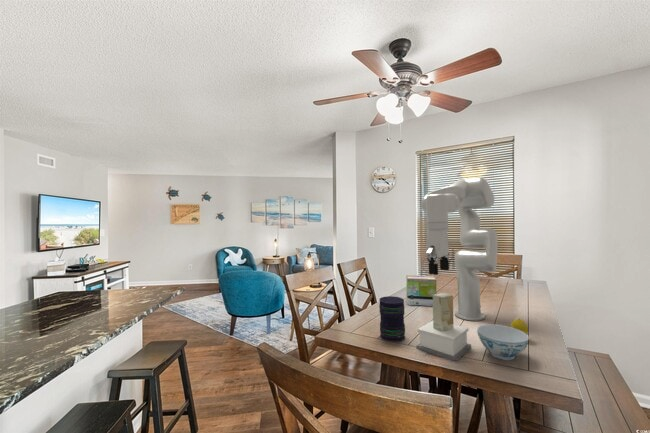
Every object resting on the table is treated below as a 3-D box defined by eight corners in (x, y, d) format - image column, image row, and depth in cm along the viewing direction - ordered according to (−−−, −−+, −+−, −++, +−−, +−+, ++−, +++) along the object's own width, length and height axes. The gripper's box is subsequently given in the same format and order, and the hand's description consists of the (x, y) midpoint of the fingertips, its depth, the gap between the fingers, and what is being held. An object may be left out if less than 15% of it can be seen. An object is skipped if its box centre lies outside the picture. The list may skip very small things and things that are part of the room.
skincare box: (442, 331, 102) (441, 297, 102) (432, 327, 106) (431, 294, 106) (454, 328, 105) (453, 294, 106) (444, 324, 109) (443, 292, 109)
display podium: (433, 336, 115) (433, 319, 115) (470, 347, 105) (470, 327, 105) (416, 348, 105) (415, 329, 106) (455, 361, 95) (454, 339, 96)
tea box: (407, 305, 156) (406, 278, 156) (406, 300, 166) (405, 274, 166) (437, 306, 153) (436, 278, 153) (434, 301, 163) (433, 275, 163)
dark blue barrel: (410, 336, 116) (409, 299, 116) (395, 344, 109) (394, 304, 109) (389, 330, 123) (388, 294, 123) (375, 336, 117) (374, 299, 117)
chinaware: (476, 359, 96) (475, 336, 96) (479, 342, 109) (478, 322, 109) (531, 371, 88) (530, 345, 88) (527, 351, 101) (526, 329, 101)
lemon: (528, 343, 107) (528, 322, 107) (510, 340, 110) (510, 319, 110) (527, 338, 111) (527, 317, 112) (510, 335, 114) (510, 315, 114)
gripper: (437, 225, 118) (439, 267, 118) (417, 228, 105) (419, 274, 105) (456, 225, 112) (458, 269, 112) (437, 228, 100) (439, 277, 100)
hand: (439, 272), depth 109 cm, fingers open, 9 cm apart
